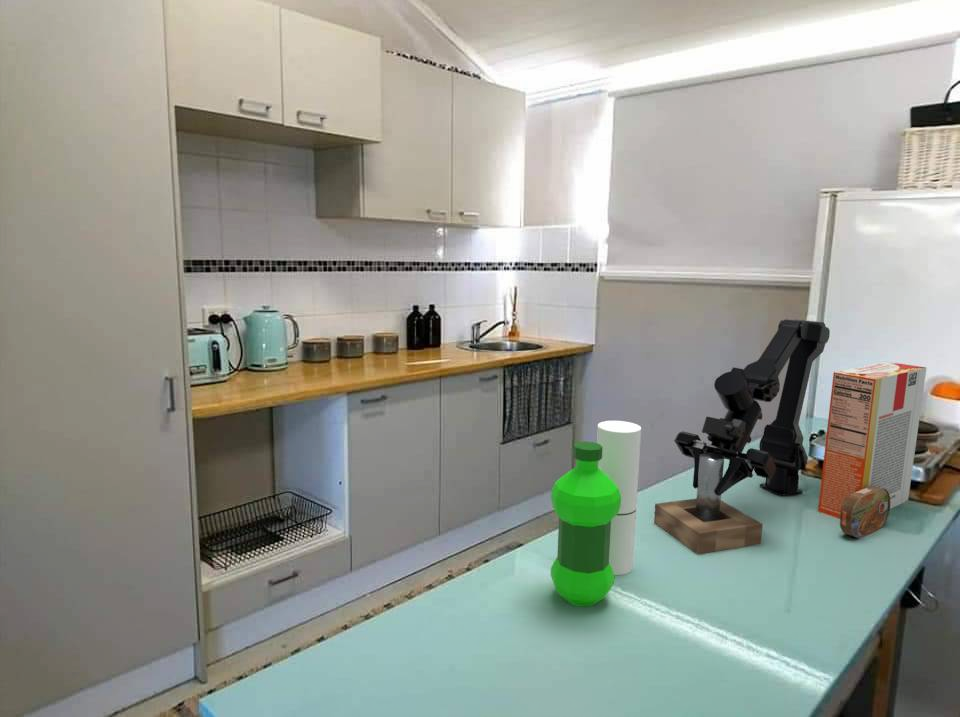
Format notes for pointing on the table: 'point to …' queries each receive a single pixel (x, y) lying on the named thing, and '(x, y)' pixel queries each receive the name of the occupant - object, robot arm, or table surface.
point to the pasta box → (871, 432)
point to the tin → (864, 511)
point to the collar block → (707, 527)
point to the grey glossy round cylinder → (709, 487)
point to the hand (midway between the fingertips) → (705, 490)
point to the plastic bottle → (584, 528)
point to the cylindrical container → (621, 486)
